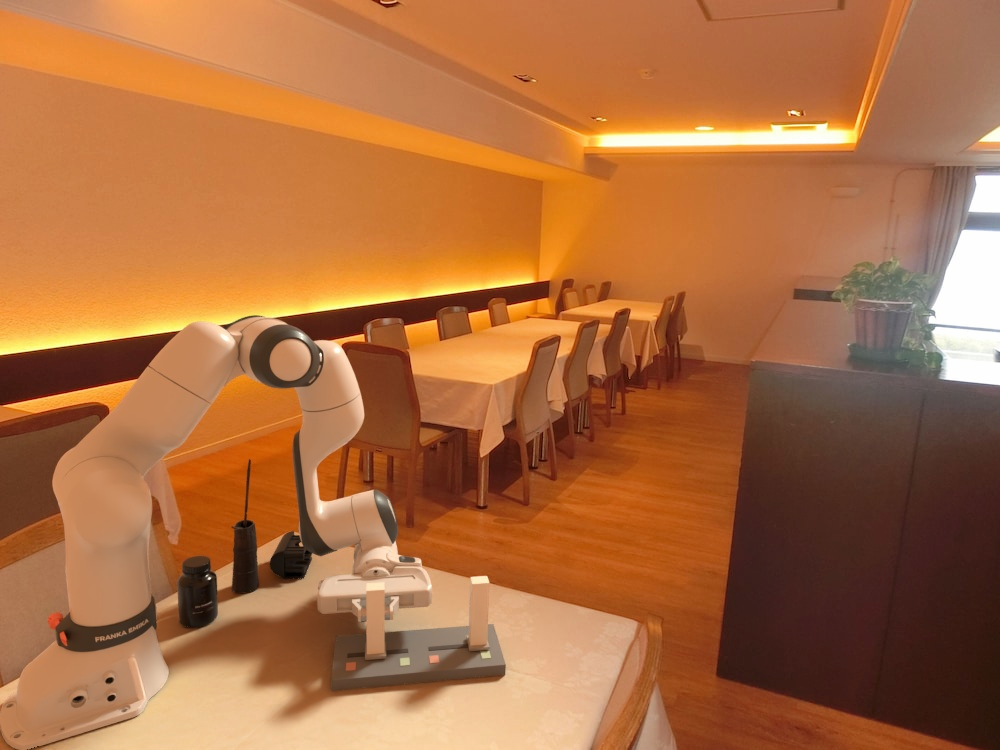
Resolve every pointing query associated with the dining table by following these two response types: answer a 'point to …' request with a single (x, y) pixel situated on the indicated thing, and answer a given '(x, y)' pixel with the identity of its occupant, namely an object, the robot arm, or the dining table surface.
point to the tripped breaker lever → (375, 621)
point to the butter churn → (245, 552)
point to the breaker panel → (414, 658)
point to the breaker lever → (478, 614)
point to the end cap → (290, 558)
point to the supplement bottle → (197, 593)
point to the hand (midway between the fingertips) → (375, 617)
